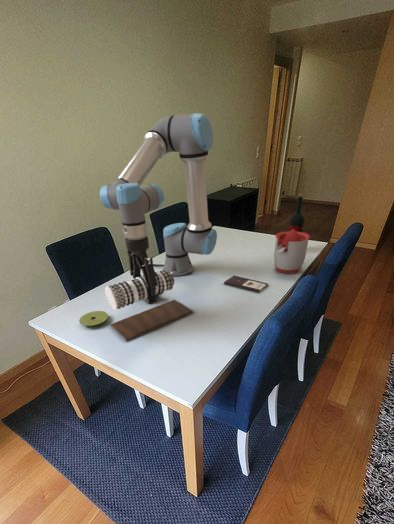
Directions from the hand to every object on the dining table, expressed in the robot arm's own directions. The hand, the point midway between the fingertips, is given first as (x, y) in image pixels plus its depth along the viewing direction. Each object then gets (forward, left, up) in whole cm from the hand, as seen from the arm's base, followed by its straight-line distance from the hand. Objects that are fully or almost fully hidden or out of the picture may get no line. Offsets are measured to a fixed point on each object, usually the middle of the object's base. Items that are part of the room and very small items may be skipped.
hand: (146, 298), depth 110 cm
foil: (-20, +8, -10) cm, 23 cm away
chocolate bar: (+2, +51, -10) cm, 52 cm away
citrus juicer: (+5, +78, -10) cm, 79 cm away
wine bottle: (-11, +102, -10) cm, 103 cm away
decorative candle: (0, -14, +5) cm, 15 cm away
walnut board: (0, +1, -10) cm, 10 cm away
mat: (-15, -17, -10) cm, 25 cm away
